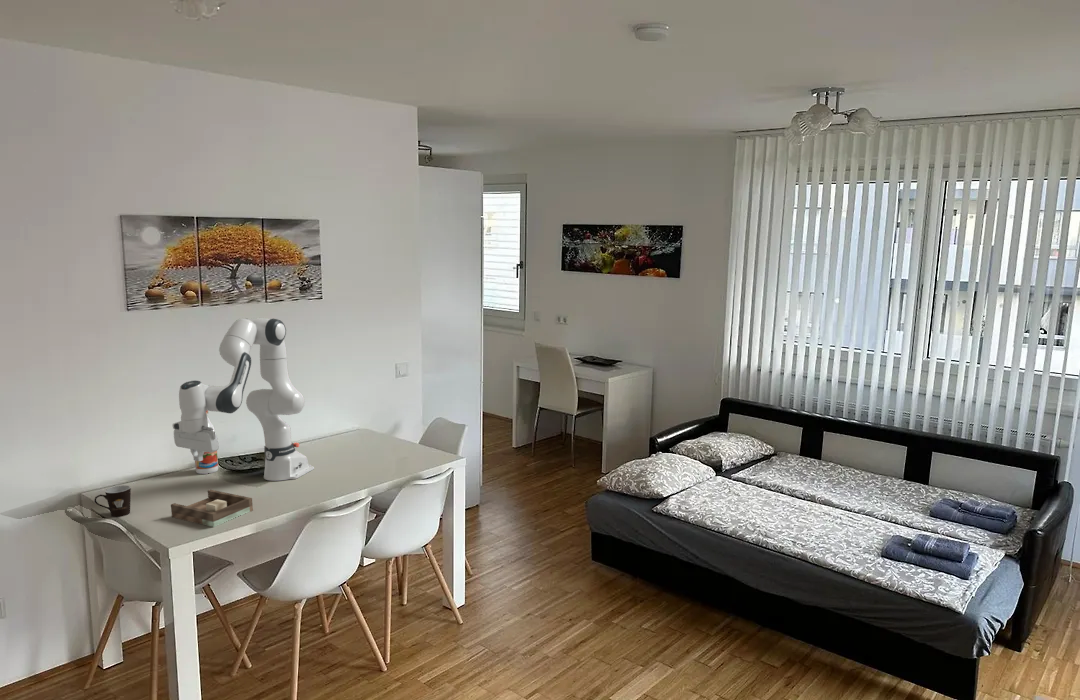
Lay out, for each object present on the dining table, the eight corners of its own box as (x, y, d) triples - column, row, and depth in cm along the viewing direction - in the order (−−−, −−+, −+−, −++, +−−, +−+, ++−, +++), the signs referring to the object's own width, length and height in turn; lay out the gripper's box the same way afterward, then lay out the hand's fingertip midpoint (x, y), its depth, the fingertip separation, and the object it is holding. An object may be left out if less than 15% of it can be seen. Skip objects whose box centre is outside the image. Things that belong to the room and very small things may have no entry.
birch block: (218, 511, 279) (217, 499, 279) (227, 514, 277) (226, 501, 276) (207, 516, 275) (205, 503, 274) (216, 518, 273) (215, 505, 272)
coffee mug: (137, 509, 288) (135, 485, 287) (126, 517, 280) (123, 492, 278) (107, 510, 288) (104, 485, 287) (95, 518, 280) (92, 493, 278)
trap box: (171, 517, 280) (170, 504, 279) (211, 501, 296) (210, 489, 295) (214, 527, 270) (212, 514, 269) (252, 510, 286) (252, 498, 285)
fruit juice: (213, 466, 341) (208, 407, 336) (222, 470, 335) (217, 410, 330) (192, 471, 334) (186, 411, 330) (201, 475, 328) (195, 414, 323)
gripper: (221, 425, 273) (224, 461, 275) (183, 419, 282) (187, 454, 284) (206, 430, 267) (210, 466, 270) (169, 424, 276) (173, 459, 279)
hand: (198, 460), depth 277 cm, fingers closed
